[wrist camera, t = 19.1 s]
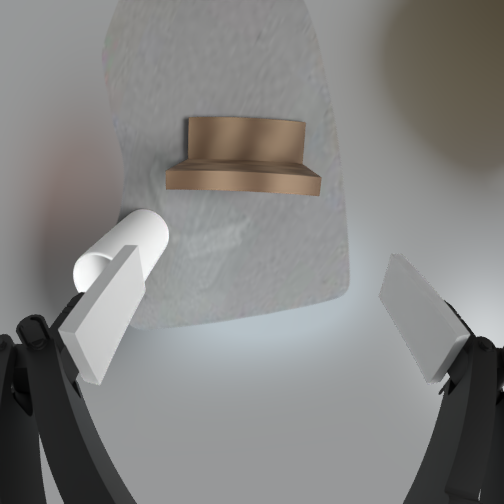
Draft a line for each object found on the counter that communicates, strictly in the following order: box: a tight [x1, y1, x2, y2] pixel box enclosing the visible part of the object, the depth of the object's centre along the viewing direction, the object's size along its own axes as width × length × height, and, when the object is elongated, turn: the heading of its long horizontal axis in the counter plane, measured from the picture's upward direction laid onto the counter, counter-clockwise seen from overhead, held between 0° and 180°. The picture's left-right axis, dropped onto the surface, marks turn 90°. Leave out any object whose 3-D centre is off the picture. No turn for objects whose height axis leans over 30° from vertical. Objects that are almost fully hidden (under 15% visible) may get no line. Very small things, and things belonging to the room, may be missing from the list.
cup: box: [73, 209, 169, 293], centre depth 35 cm, size 8×8×16 cm
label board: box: [166, 117, 321, 196], centre depth 32 cm, size 16×8×12 cm, turn 87°
